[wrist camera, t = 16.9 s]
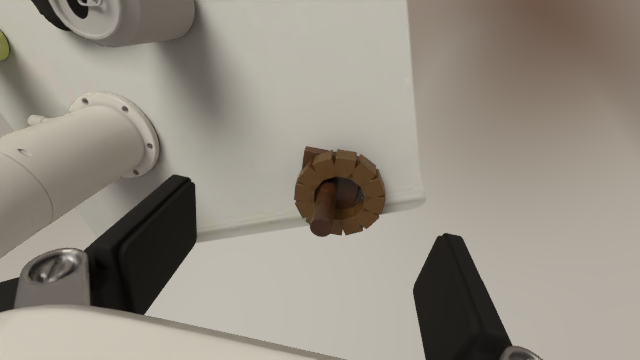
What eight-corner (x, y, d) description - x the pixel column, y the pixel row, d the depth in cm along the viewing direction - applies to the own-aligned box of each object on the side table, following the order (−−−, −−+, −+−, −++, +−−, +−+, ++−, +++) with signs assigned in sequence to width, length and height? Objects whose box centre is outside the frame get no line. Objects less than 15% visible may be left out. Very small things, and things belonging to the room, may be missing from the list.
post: (299, 195, 44) (281, 248, 34) (306, 146, 40) (288, 189, 30) (352, 206, 44) (350, 262, 34) (365, 157, 40) (366, 204, 30)
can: (124, -35, 33) (13, -59, 22) (188, -41, 32) (104, -69, 21) (146, 40, 36) (60, 51, 26) (205, 37, 35) (140, 47, 25)
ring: (295, 216, 44) (291, 227, 42) (302, 143, 39) (298, 151, 36) (373, 229, 44) (374, 241, 41) (392, 157, 38) (394, 166, 36)
